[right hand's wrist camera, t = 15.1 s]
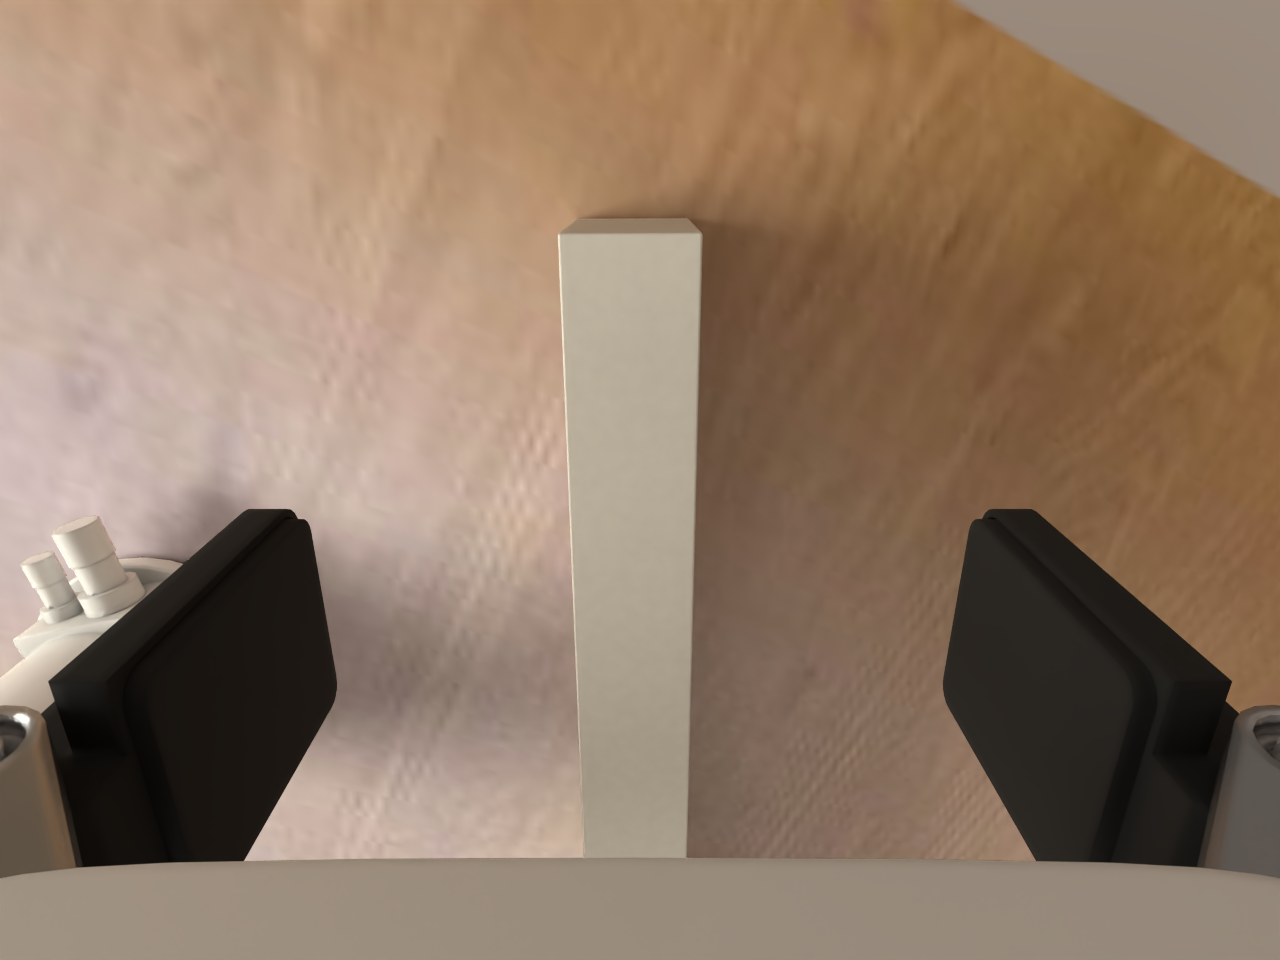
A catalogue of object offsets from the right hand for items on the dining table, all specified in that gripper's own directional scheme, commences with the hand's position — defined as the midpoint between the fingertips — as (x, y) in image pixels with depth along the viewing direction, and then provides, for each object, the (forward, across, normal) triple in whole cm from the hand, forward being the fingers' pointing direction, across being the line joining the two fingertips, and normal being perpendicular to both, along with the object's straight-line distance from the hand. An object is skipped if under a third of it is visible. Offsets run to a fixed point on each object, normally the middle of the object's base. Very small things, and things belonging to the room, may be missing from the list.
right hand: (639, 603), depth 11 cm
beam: (+25, 0, -24) cm, 34 cm away
